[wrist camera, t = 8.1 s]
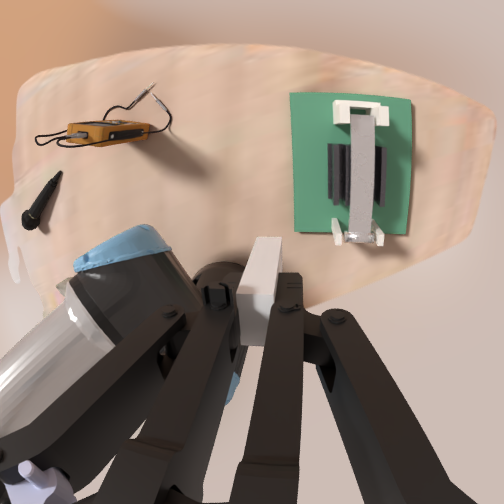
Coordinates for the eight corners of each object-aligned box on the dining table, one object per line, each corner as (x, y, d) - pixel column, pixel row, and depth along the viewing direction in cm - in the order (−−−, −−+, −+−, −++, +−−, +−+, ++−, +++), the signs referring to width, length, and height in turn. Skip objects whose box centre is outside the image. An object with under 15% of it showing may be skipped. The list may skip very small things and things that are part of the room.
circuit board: (403, 231, 42) (422, 254, 34) (294, 229, 45) (291, 252, 37) (408, 100, 33) (431, 95, 25) (289, 93, 37) (285, 84, 29)
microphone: (66, 164, 51) (32, 217, 56) (48, 161, 46) (15, 218, 51) (73, 181, 50) (37, 234, 55) (54, 179, 45) (21, 235, 50)
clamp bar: (370, 238, 38) (373, 245, 36) (343, 238, 38) (344, 244, 37) (375, 116, 31) (379, 116, 29) (344, 114, 31) (347, 113, 29)
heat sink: (379, 198, 39) (387, 207, 35) (327, 197, 41) (330, 205, 37) (380, 145, 36) (390, 147, 32) (327, 143, 38) (330, 144, 33)
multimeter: (179, 84, 38) (100, 66, 20) (167, 143, 43) (85, 160, 25) (109, 80, 39) (23, 75, 21) (100, 132, 44) (15, 148, 26)
